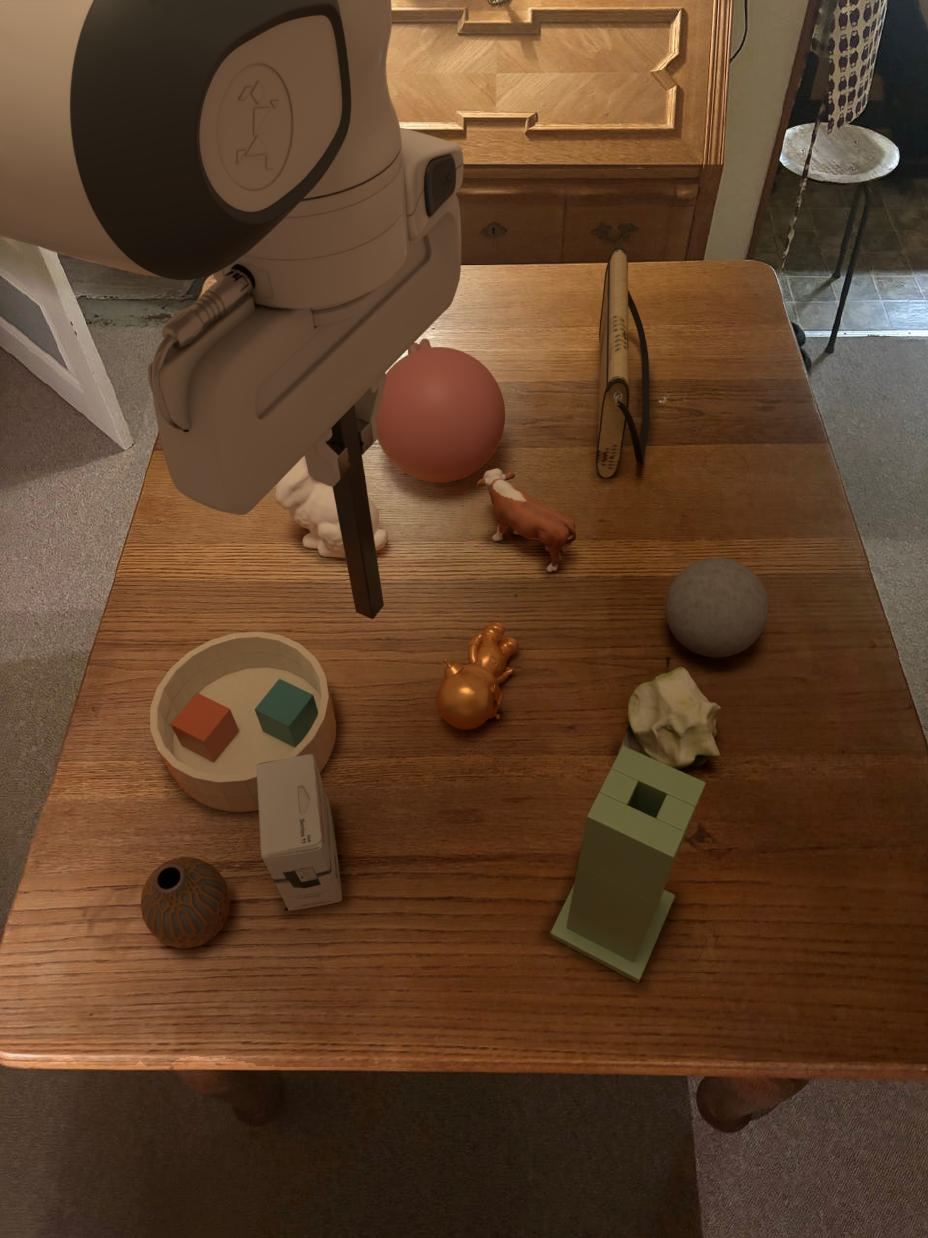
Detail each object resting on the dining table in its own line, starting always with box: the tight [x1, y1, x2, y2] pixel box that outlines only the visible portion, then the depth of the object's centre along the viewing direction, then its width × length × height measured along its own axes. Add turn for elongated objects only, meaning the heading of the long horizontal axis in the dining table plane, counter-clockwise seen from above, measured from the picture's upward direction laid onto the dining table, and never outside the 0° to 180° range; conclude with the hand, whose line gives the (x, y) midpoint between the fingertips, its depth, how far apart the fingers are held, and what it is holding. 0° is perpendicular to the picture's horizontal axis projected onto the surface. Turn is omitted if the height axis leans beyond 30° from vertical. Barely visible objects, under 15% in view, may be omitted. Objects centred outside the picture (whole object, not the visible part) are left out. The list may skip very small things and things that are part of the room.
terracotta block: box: [170, 693, 239, 762], centre depth 87 cm, size 4×4×4 cm
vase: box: [140, 856, 231, 949], centre depth 75 cm, size 7×7×9 cm
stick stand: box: [549, 746, 707, 984], centre depth 69 cm, size 8×8×22 cm
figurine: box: [435, 621, 520, 730], centre depth 90 cm, size 8×6×12 cm
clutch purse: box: [595, 246, 650, 479], centre depth 112 cm, size 30×7×15 cm, turn 174°
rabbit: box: [274, 456, 389, 559], centre depth 101 cm, size 12×9×12 cm
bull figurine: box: [476, 468, 577, 573], centre depth 101 cm, size 4×13×8 cm, turn 46°
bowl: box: [149, 631, 337, 813], centre depth 87 cm, size 16×17×6 cm
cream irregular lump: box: [618, 656, 722, 770], centre depth 86 cm, size 9×9×8 cm
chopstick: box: [328, 405, 385, 620], centre depth 53 cm, size 1×1×18 cm
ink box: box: [257, 754, 343, 912], centre depth 77 cm, size 9×5×12 cm, turn 10°
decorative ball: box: [664, 557, 770, 659], centre depth 91 cm, size 10×10×10 cm
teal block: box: [255, 679, 318, 747], centre depth 88 cm, size 4×4×4 cm
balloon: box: [376, 338, 506, 483], centre depth 108 cm, size 15×20×15 cm
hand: (344, 459), depth 50 cm, fingers closed on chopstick, 1 cm apart
